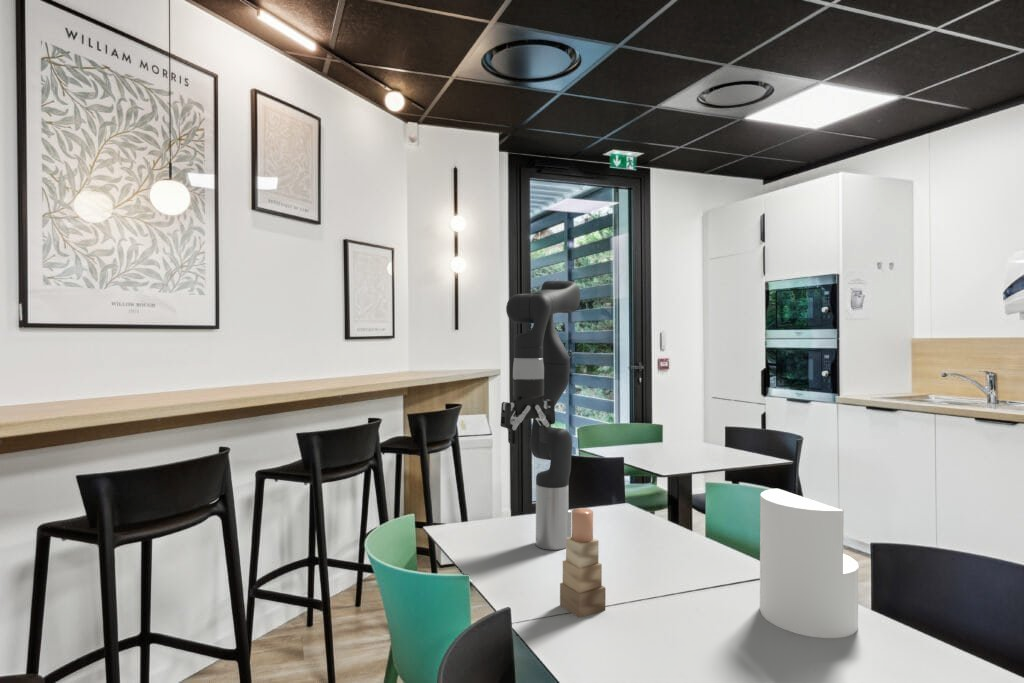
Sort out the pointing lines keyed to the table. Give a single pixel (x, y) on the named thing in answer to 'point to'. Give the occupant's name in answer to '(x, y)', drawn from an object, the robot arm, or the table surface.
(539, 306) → the robot arm
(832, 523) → the cylinder
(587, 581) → the tower mid
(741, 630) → the table surface
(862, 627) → the table surface
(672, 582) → the table surface
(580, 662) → the table surface
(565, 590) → the tower base
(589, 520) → the cylinder
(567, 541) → the tower top
